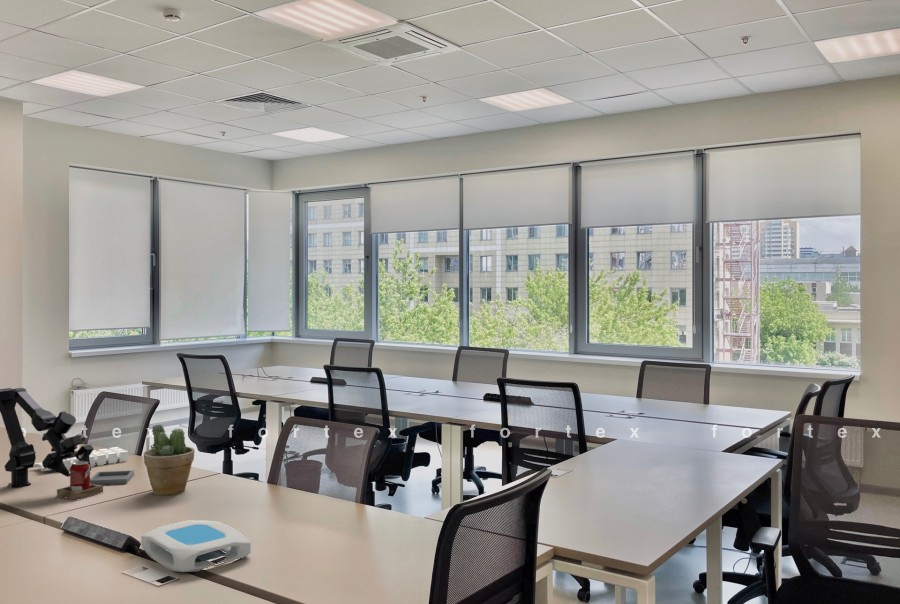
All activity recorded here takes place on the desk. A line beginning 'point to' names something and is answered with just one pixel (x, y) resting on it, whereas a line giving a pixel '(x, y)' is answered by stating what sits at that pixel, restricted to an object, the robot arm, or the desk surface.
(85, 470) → the soda can
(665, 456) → the desk surface
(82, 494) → the square frame
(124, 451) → the organizer
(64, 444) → the robot arm
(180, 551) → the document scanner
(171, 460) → the potted plant
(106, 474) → the tray
